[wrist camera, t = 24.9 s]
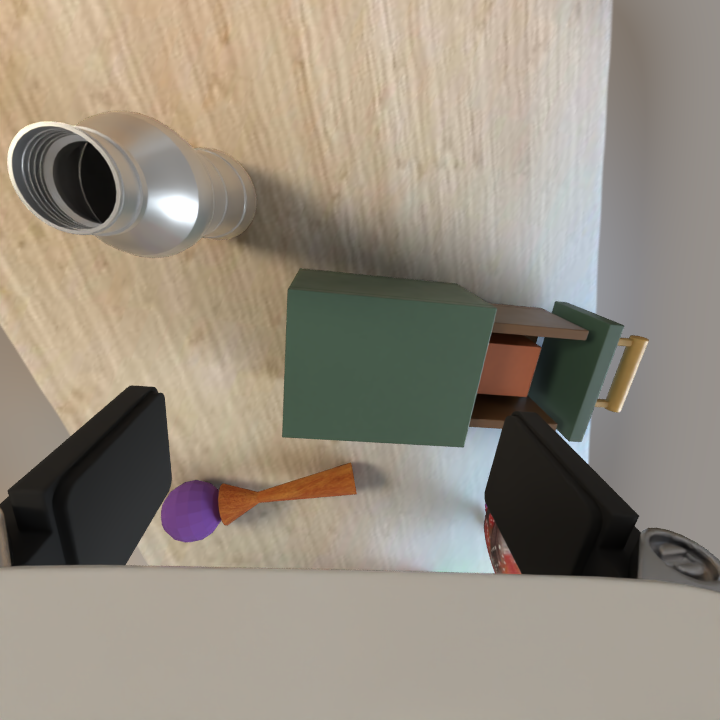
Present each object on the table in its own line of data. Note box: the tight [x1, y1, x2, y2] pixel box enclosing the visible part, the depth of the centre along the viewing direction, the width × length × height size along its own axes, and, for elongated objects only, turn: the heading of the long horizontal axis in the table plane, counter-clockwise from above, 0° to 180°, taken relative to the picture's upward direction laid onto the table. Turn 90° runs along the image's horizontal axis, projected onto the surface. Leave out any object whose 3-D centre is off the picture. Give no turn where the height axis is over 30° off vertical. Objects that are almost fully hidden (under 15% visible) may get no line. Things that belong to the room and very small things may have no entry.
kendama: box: [161, 463, 357, 542], centre depth 40 cm, size 6×6×20 cm
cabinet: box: [282, 268, 497, 447], centre depth 33 cm, size 15×12×10 cm
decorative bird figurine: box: [484, 504, 521, 574], centre depth 41 cm, size 3×18×10 cm, turn 13°
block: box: [477, 332, 541, 397], centre depth 34 cm, size 5×5×5 cm
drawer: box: [469, 301, 649, 442], centre depth 34 cm, size 19×10×8 cm, turn 84°
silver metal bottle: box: [7, 111, 257, 258], centre depth 23 cm, size 6×7×20 cm
